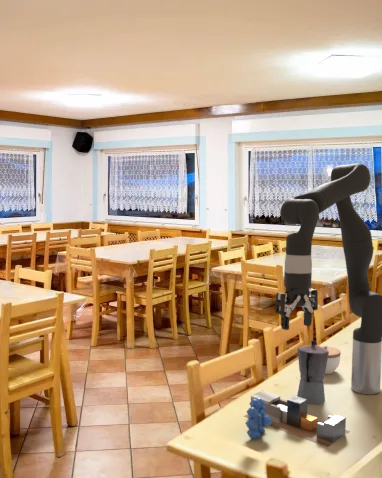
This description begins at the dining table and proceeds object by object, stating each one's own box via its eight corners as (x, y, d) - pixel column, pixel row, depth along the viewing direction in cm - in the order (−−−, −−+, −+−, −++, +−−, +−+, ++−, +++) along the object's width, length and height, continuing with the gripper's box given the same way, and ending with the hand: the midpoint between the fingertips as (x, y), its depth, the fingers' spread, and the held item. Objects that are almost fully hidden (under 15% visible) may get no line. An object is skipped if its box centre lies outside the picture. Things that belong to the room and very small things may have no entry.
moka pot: (329, 397, 176) (330, 336, 174) (324, 416, 161) (326, 350, 159) (299, 393, 179) (300, 333, 177) (292, 411, 165) (293, 347, 162)
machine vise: (267, 408, 167) (268, 387, 166) (349, 436, 149) (350, 413, 148) (243, 421, 158) (244, 398, 157) (327, 452, 140) (328, 427, 139)
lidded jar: (343, 369, 202) (344, 344, 201) (334, 378, 193) (335, 352, 192) (315, 364, 208) (316, 340, 207) (305, 372, 199) (306, 347, 198)
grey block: (263, 408, 163) (263, 385, 162) (317, 427, 151) (318, 402, 150) (255, 412, 160) (255, 389, 159) (310, 432, 148) (310, 407, 147)
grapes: (265, 453, 139) (266, 408, 138) (240, 448, 142) (241, 403, 141) (277, 434, 150) (278, 392, 149) (253, 429, 153) (254, 388, 151)
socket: (329, 429, 150) (329, 412, 149) (345, 434, 147) (345, 417, 146) (316, 437, 145) (316, 420, 144) (332, 443, 142) (333, 425, 141)
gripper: (306, 267, 160) (304, 322, 161) (269, 270, 152) (268, 327, 153) (325, 270, 154) (323, 327, 155) (288, 273, 146) (287, 333, 147)
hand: (296, 327), depth 154 cm, fingers open, 8 cm apart
